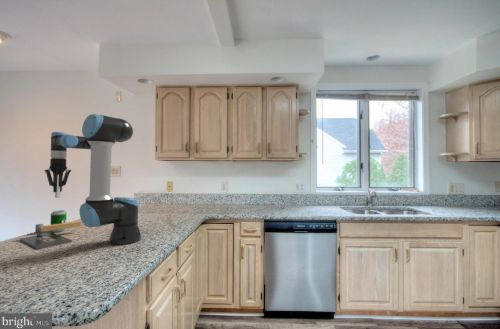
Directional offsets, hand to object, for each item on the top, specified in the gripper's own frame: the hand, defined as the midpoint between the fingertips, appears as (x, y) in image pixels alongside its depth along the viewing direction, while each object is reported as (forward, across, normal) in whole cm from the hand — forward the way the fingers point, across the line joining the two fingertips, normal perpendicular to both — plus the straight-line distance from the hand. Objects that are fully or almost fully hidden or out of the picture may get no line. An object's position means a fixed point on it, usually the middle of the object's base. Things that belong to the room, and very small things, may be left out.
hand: (57, 197), depth 145 cm
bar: (+17, +2, +9) cm, 20 cm away
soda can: (+21, -2, -1) cm, 21 cm away
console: (+20, +11, +16) cm, 28 cm away
